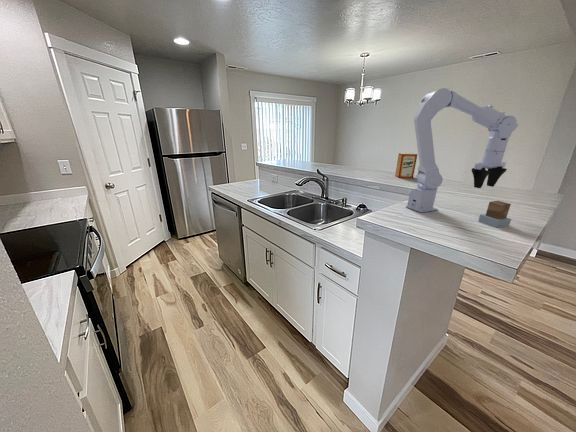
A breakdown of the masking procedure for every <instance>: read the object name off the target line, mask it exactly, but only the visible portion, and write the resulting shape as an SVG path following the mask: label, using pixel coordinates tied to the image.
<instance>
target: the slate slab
mask: <svg viewBox="0 0 576 432" xmlns="http://www.w3.org/2000/svg"><path fill="white" fill-rule="evenodd" d="M511 222H512V218H510V217H508V216H507V217H506V218H503V219H496V218H492V217H489V216H486V213H483V214H480V215H479V217H478V223H480V224H481V223H482V224H484V225H487V226H489V227H493V228H495V229H496V228H505V227H509V226H510V224H511Z"/></svg>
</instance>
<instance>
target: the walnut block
mask: <svg viewBox="0 0 576 432" xmlns="http://www.w3.org/2000/svg"><path fill="white" fill-rule="evenodd" d="M511 206H512V203H509V202H504V201H500V200H494V201H492V200H491V201H489V203H488V206H487V209H486V212H485V214H486V216H489V217H492V218H496V219H503V218H506V217H507V218H508V214H509V211H510V207H511Z"/></svg>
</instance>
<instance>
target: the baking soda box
mask: <svg viewBox="0 0 576 432" xmlns="http://www.w3.org/2000/svg"><path fill="white" fill-rule="evenodd" d="M397 157H398V158H397V163H396V168H395V169H396V170H395V175H394V176H395V177H396V178H398V179H414V174H415V169H416V163H417V160H418V153H413V152H399V153H398V156H397Z"/></svg>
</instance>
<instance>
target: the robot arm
mask: <svg viewBox="0 0 576 432" xmlns="http://www.w3.org/2000/svg"><path fill="white" fill-rule="evenodd" d="M445 108H453V109H456V110H458V111H459V112H463V113H464V114H467V115H469V116H471V120H472V122H474V123H476V124H477V125H480V126H482V127H485V128H486V129H487V130H488V132H489V134H488V138H487V141H486V146H485V149H484V153H483V155H482V156H483V157H482V158H481V159H482V160H481V162H477V163H475V164H474V167H472V168H471V170H470V171H471V173H472V176H473V187H474V188H475V189H481V188H482V187H483V185H484V184H485V180H486V178H487V181H486V186H487V187H492V188H493V187H495V186H496V183H498V180H499V179H500V178H501V177H502V176H503V175H504V173H506V172H507V171H508V170H507V169H508V168H505V167H506V164H507V162H504V161H503V158H504V156H505V152H506V150H507V149H506V148H507V146H508V143H509V140H510V137H511V136H512V133H514V131H515V130H516V129H517V128H518V125H519V123H518V120H517V119H516V117H515V116H514V115H506V112H505V111H499V110H497V109H496V108H494V105H492V104H488V105H487V104H484V105H481V106H479V105H478V104H476V103H474V102H473V101H470V100H469V99H468V98H466V97H463V96H462V95H461V94H458V93H457V92H456V91H453V90H450V89H449V88H445V87H442V88H439V89H437V90H434V91H430V92H428V93H427V94H425V95H424V96H423V97H422V98H421V100H420V101H419V104H418V108H417V111H416V113H415V116H414V118H413V123H414V129H415V131H414V132H415V138H416V146H417V156H418V162H419V165H418V167H417V175H416V181H417V185H416V187H415V188H414V189H412V190H410V192H409V195H408V199H407V204H406V205H405V208H407V209H410V210H413V211H416V212H419V213H425V212H433V211H438V210H439V209H438V208H437V207H434V204H435V201H436V196H437V192H438V188H439V187H441V185H442V183H443V182H444V181H443V176H442V174H441V173H440V171H439V167H438V166H437V165H438V164H437V163H436V155H435V145H434V140H433V129H432V120H433V118H434V117H435V116H436V115H437V114H438V113H439V112H441V111H442V110H444V109H445Z"/></svg>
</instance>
